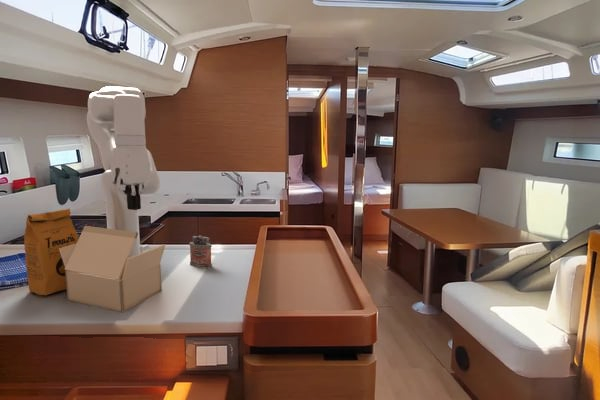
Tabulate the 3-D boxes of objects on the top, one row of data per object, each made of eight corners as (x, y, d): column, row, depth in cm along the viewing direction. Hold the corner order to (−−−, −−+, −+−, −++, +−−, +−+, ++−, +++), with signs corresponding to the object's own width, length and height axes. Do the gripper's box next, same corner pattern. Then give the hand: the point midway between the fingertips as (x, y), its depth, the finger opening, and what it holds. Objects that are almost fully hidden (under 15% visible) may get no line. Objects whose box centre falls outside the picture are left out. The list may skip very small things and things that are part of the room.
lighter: (187, 265, 126) (186, 236, 125) (194, 262, 129) (193, 233, 128) (208, 268, 123) (207, 238, 122) (214, 265, 126) (213, 236, 125)
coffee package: (90, 285, 108) (84, 209, 104) (42, 300, 98) (33, 217, 94) (72, 278, 113) (66, 205, 110) (24, 291, 103) (16, 212, 99)
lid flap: (86, 226, 101) (84, 225, 101) (138, 233, 96) (136, 232, 95) (66, 270, 96) (64, 269, 96) (119, 279, 91) (117, 278, 90)
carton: (104, 280, 112) (101, 235, 109) (168, 292, 104) (166, 243, 102) (61, 299, 99) (56, 248, 96) (130, 313, 91) (127, 259, 89)
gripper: (139, 142, 110) (142, 204, 113) (96, 142, 96) (101, 212, 99) (160, 142, 108) (163, 206, 111) (120, 142, 94) (124, 215, 97)
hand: (134, 209), depth 105 cm, fingers closed
